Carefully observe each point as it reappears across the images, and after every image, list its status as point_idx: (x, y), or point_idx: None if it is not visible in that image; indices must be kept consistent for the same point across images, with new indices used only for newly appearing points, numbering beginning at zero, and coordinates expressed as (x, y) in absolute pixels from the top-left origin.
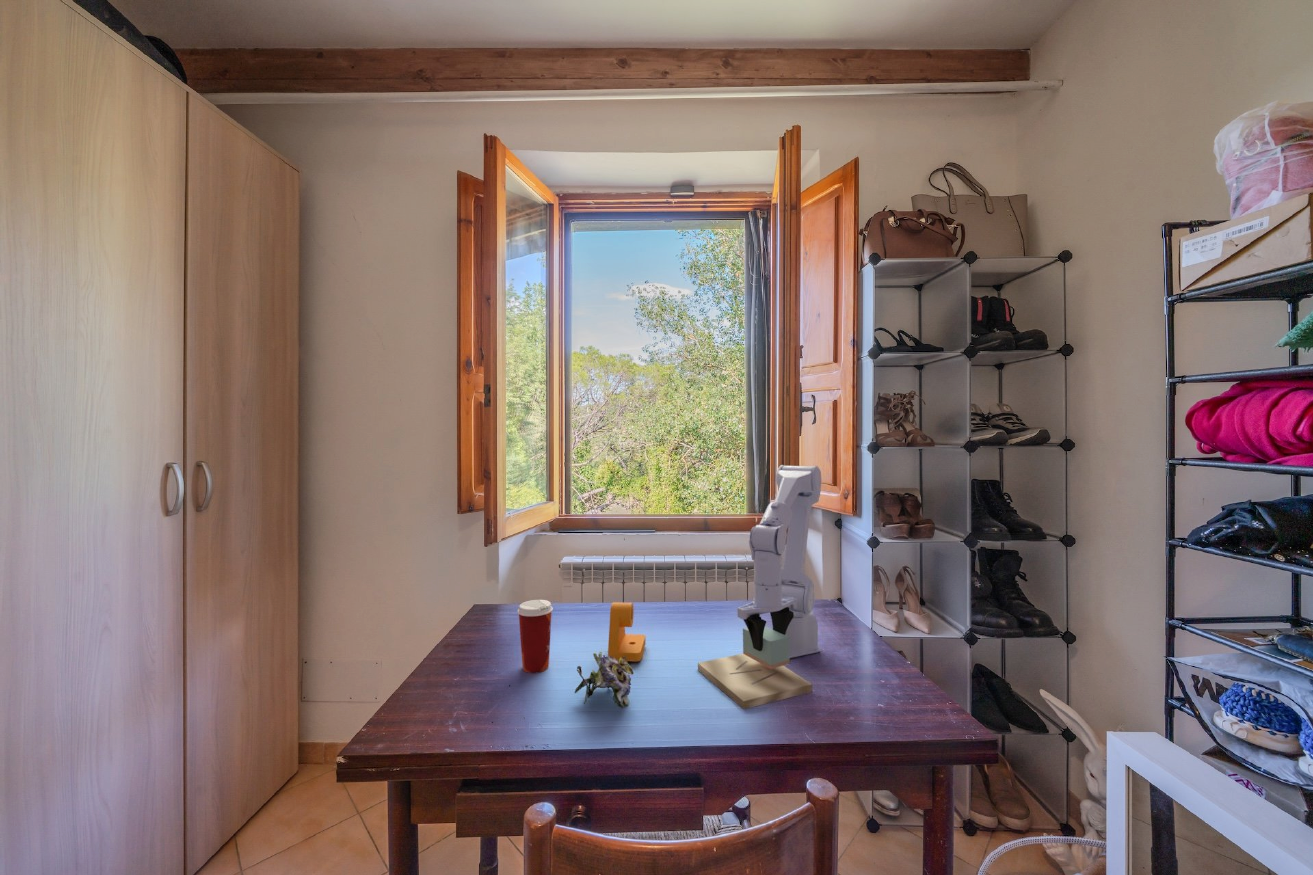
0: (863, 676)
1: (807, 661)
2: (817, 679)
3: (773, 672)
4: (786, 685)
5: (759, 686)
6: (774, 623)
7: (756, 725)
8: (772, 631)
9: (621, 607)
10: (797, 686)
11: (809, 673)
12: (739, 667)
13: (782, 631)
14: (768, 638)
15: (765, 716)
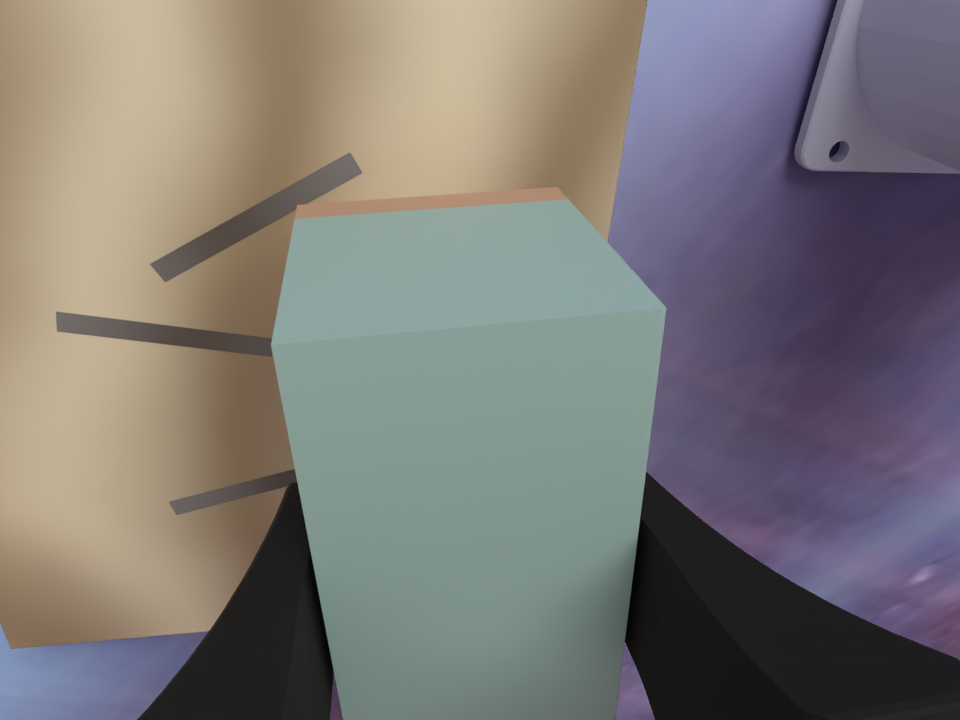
0: (906, 521)
1: (865, 256)
2: (681, 475)
3: None
4: None
5: (214, 542)
6: (683, 617)
7: (43, 716)
8: (586, 576)
9: None
10: None
11: (710, 403)
12: (210, 248)
13: (642, 670)
14: (390, 713)
15: (131, 674)
